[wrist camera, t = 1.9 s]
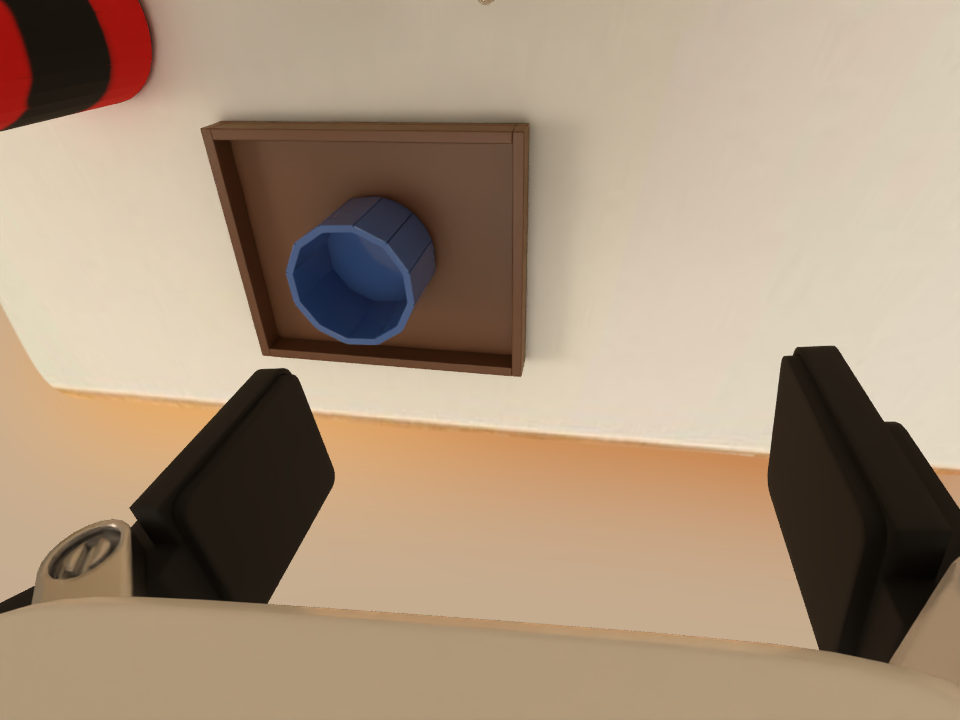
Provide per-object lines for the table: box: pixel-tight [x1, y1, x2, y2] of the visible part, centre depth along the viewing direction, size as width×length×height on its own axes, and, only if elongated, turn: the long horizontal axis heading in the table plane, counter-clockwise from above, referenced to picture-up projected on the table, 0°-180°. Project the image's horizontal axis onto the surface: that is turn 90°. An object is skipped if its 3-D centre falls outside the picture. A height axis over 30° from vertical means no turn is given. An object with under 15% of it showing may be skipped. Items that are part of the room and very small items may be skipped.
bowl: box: [286, 197, 436, 345], centre depth 32 cm, size 7×7×5 cm
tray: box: [201, 121, 530, 377], centre depth 33 cm, size 17×14×2 cm
